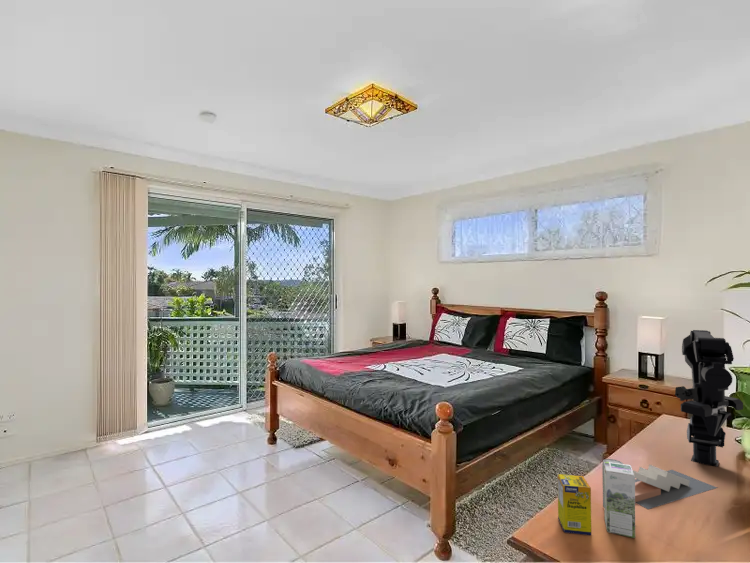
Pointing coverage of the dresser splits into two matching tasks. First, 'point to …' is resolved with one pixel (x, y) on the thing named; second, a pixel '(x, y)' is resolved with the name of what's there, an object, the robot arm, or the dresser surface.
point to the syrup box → (619, 499)
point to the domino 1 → (651, 481)
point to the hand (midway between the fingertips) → (712, 435)
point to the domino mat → (676, 492)
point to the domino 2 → (659, 477)
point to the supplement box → (574, 504)
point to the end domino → (645, 491)
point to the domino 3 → (668, 475)
